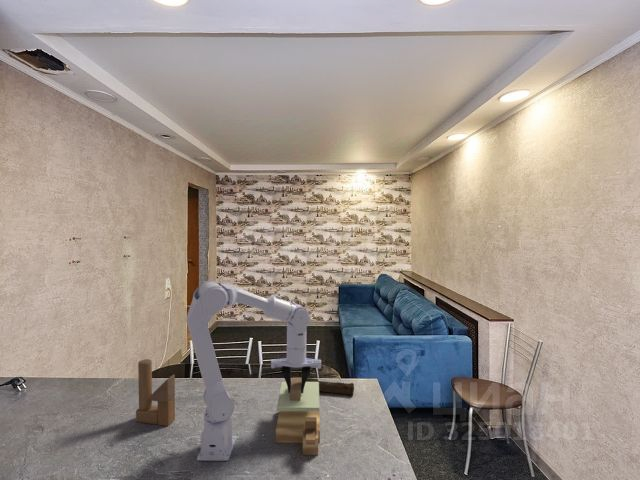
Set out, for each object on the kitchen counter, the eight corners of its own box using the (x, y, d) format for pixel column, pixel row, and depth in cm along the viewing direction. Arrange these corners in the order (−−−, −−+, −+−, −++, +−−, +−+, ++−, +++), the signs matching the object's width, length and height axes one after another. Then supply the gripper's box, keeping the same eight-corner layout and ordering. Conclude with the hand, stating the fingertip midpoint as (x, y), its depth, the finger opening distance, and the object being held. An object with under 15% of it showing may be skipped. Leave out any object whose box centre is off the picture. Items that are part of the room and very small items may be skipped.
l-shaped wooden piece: (316, 444, 87) (316, 430, 87) (304, 444, 87) (304, 430, 87) (316, 430, 93) (316, 417, 93) (305, 430, 93) (305, 417, 93)
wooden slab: (320, 455, 90) (320, 438, 90) (273, 454, 90) (273, 438, 90) (319, 410, 111) (319, 397, 111) (281, 410, 111) (281, 396, 111)
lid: (319, 411, 95) (319, 397, 95) (276, 410, 95) (276, 396, 95) (318, 384, 110) (318, 372, 110) (282, 384, 110) (282, 372, 110)
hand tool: (354, 392, 124) (354, 379, 124) (353, 397, 120) (353, 384, 120) (302, 387, 128) (302, 374, 127) (300, 392, 124) (300, 379, 123)
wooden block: (168, 426, 101) (167, 366, 101) (135, 422, 104) (134, 363, 103) (175, 419, 105) (175, 361, 104) (144, 415, 107) (143, 358, 106)
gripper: (321, 341, 106) (320, 385, 107) (273, 341, 106) (272, 384, 106) (321, 350, 99) (320, 396, 99) (270, 349, 99) (270, 396, 99)
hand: (296, 391), depth 102 cm, fingers closed on lid, 3 cm apart
